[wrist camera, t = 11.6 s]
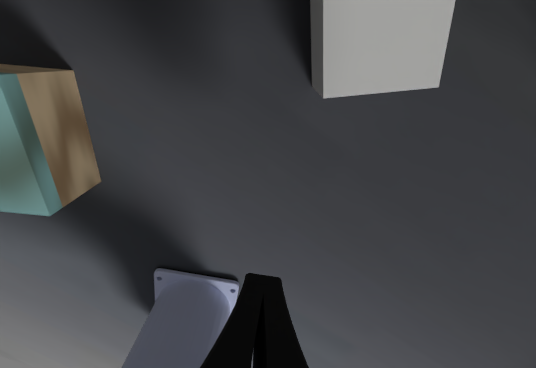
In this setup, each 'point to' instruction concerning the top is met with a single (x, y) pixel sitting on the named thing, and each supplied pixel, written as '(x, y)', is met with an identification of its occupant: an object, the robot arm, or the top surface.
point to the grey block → (377, 45)
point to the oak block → (42, 141)
